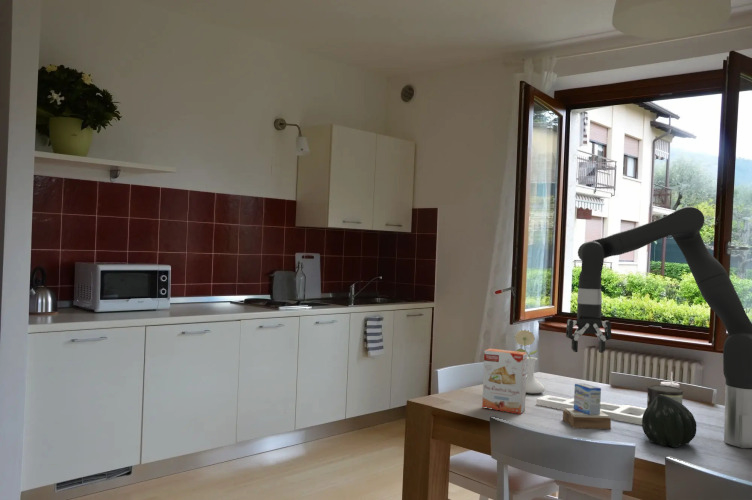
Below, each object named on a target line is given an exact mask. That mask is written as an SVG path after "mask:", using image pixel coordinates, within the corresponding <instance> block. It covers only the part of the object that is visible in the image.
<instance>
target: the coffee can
mask: <svg viewBox="0 0 752 500" xmlns="http://www.w3.org/2000/svg"><path fill="white" fill-rule="evenodd" d="M646 388H647V393H646V394H647V399H646V400H647V401H646V408H647V407H648V406H649V405H650V404H651V403H652V402H653V401H654V399H655V398H656V397H657V396H658V395H659V394H660V395H664V396H667V397H670V398H672V399H674V400H676V401H678V402H680V403H681V404H683V396H684V395H683V394H684V390H683V389H682V388H680V387H679V388H677V387H672V386H665V385H661V384H649V385H648V386H647V387H646Z"/></svg>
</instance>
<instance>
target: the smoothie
mask: <svg viewBox="0 0 752 500" xmlns="http://www.w3.org/2000/svg"><path fill="white" fill-rule="evenodd" d="M673 375H674V372H673V371H670V381H660V385H665V386H672V387H677V388H680V384H679V383H677V382H674V381H673Z"/></svg>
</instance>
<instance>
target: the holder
mask: <svg viewBox="0 0 752 500" xmlns="http://www.w3.org/2000/svg"><path fill="white" fill-rule="evenodd" d="M536 405H537V406H541V405H542V407H546V406H547V408H551V407H552V408H553V409H556V408H557V410H562V411H563V410H565V408H572V409H574V397H572V398H565V397H560V396H554V395H549V394H547V395H544V396H540V397H537V398H536ZM646 408H647V407H640V406H634V405H628V404H625V405H622V404H621V405H620V404H615V403H609V402H604V401H601V402H600V411H601V412H603V413H605V414H606V415H608V416H609V417H610V418H611V420H613V421H614V420H615V421H621V422H625V423H631V424H635V425H636V424H637V425H641V426H642V417H643V414H644V412H645V410H646Z"/></svg>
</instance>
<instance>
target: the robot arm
mask: <svg viewBox="0 0 752 500" xmlns="http://www.w3.org/2000/svg"><path fill="white" fill-rule="evenodd" d="M704 224H705V215H704V213H703V212H702V211H701V209H699V208H697V207H694V206H684V207H682V208H680V209H677V210H675V211H673V212H671V213H669V214H668V215H665V216H663V217H661V218H658V219H655V220H653V221H650V222H648V223H645V224H641V225H638V226H636V227H632V228H629V229H626V230H622V231H619V232H616V233H613V234H611V235H609V236H605V237H603V238H598V239H594V240H590V241H586V242H584V243H582V244H581V245H580V246H579V247H578V250H577V256H578V258H579V260H581V271H580V272H579V276H578V290H577V291H578V292H577V299H576V302H577V305H576V306H577V307H576V319H575V320H572V319H567V321H566V332H565V337H566V338H567V339H569V340H571V350H572V352H573V353H577V352H578V351H579V350H578V348H579V347H578V346H579V338H580V337H581V336H582V335H583V334H585V335H589V334H591V335H595V336H597V338H598V339H599V340H598V352H599V353H601V354H603V353H604V352H605V351H606V341H608V340H609V341H610V340H611V339H612V322H611V321H610V320H604V321H603V320H602V306H603V305H602V301H603V296H602V273H603V272H602V271H603V268H604V262H605V261H604V260H605V259H607V258H609V257H615V256H620V255H623V254H626V253H630V252H633V251H636V250H639V249H641V248H644V247H645V246H647V245H650V244H653V243H654V242H656V241H658V240H662V239H663V238H664V239H665V238H667V237H670V236H671V237H672V239H673V240H674V242H675V243H676V245H677V247H679V248H678V249H679V250H680V251H681V253H682V255H683V256H684V260H685V261H686V263H687V265H688V268H689V270H690V272H691V274H692V277H693V279H694V281H695V284H696V286H697V287H698V290H699V292H700V294H701V296H702V298H703V299H704V301H705V302H706V304H707V305H708V306H709V308H711V310H712V311H713V312H714V313H715V314H716V315H717V317H718V318H719V319H720V321H721V322H722V324H723V325H724V328H725V330H726V332H727V335H728V337H727V338H726V339H725V341H724V344H723V349H722V351H723V352H722V362H723V363H722V364H723V367H722V368H723V371H722V372H723V376H724V379H725V391H724V392H725V393H724V421H723V422H724V424H723V425H724V426H723V428H724V433H723V442H724V443H726V444H728V445H731V446H735V447H739V448H741V449H752V321H751V319H750V318H749V316H748V315H747V313H746V311H745V308H744V306H743V303H742V301H741V299H740V297H739V295H738V293H737V290H736V289H735V287H734V284H733V282H732V280H731V278H730V276H729V274H728V272H727V270H726V269H725V268H724V266H723V264H721V263H720V261H719V260H717V258H716V257H715V256H714V255H712V253H711V252H710V251H709V250H708V248H707V247H706V244H705V242H704V240H703V238H702V235H701V232H700V231H701V230H702V229H703V227H704ZM575 326H577V328H576V330H575V331H574V327H575ZM601 327H603V328H604V333H603V331H602V330H601V329H600V328H601ZM573 332H574V333H573Z"/></svg>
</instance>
